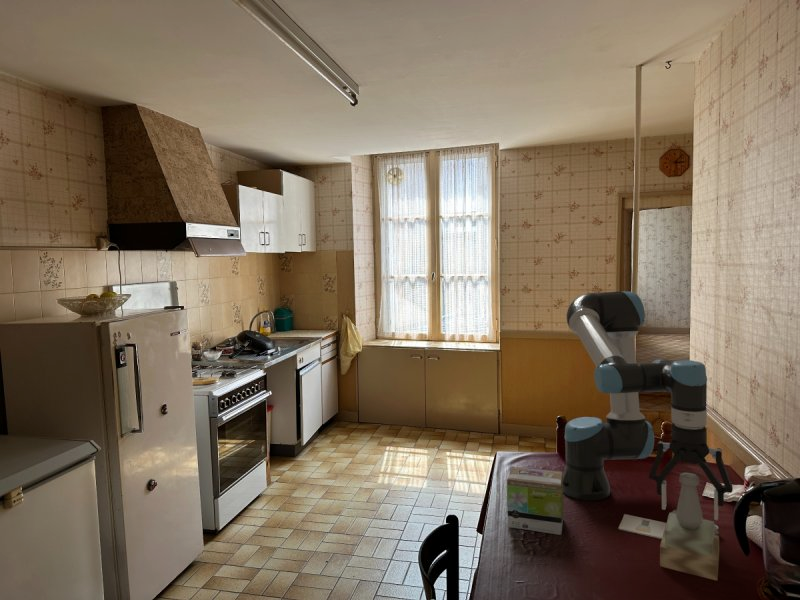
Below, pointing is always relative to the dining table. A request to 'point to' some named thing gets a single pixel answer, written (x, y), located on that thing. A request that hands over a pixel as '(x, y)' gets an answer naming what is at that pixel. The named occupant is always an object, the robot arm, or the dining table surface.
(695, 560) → the zigzag patterned box
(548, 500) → the tea box
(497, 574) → the dining table surface
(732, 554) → the dining table surface
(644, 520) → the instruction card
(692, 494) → the salt shaker
